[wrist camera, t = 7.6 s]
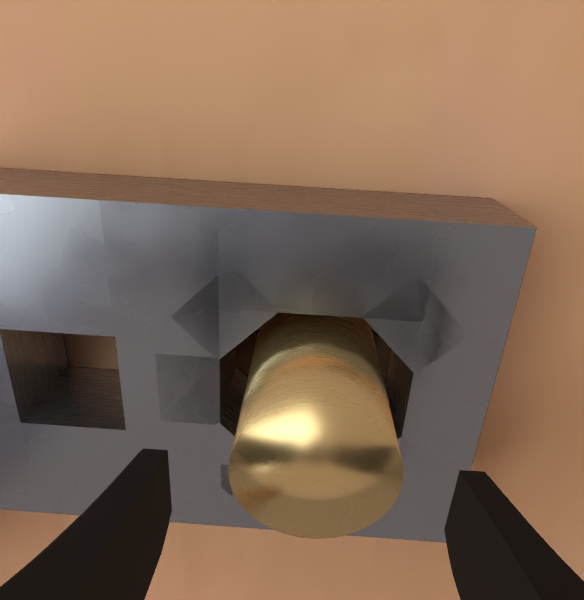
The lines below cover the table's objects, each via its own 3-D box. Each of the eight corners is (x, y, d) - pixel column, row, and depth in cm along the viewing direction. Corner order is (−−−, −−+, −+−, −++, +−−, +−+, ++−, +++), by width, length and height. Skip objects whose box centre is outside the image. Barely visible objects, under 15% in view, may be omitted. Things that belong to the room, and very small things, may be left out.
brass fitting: (259, 386, 19) (233, 535, 13) (256, 286, 18) (222, 403, 11) (369, 389, 19) (395, 541, 13) (376, 288, 17) (412, 408, 11)
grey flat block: (22, 443, 21) (-31, 507, 18) (-44, 165, 16) (-131, 185, 13) (429, 472, 21) (450, 542, 18) (491, 198, 16) (536, 227, 13)
